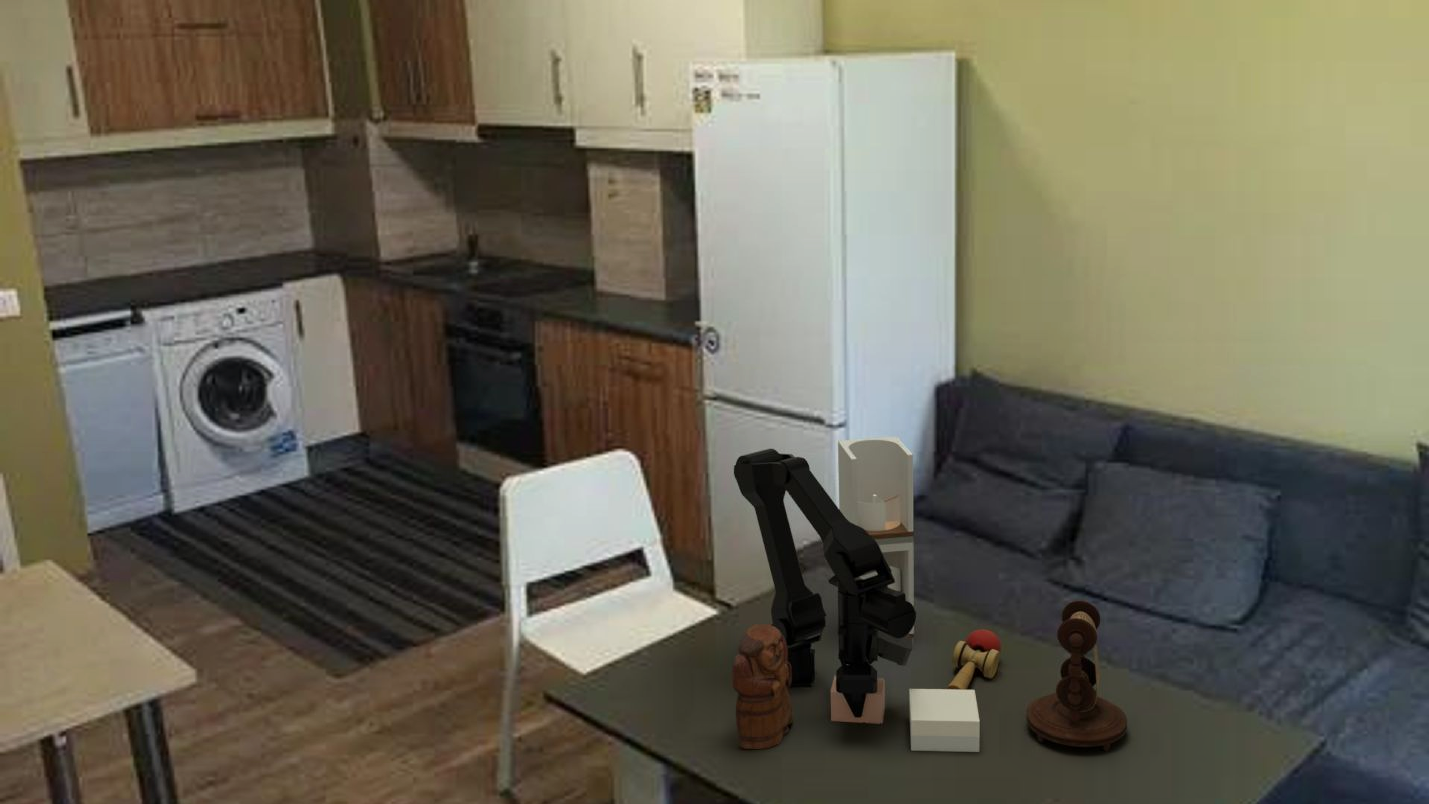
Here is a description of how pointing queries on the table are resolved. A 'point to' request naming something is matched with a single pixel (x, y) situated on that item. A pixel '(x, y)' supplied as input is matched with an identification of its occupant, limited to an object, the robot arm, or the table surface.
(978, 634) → the kendama
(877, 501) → the white shelf stand
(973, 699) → the white foam block
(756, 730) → the wooden figurine
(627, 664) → the table surface
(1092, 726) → the brown upright round-based piece
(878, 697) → the coral brick
